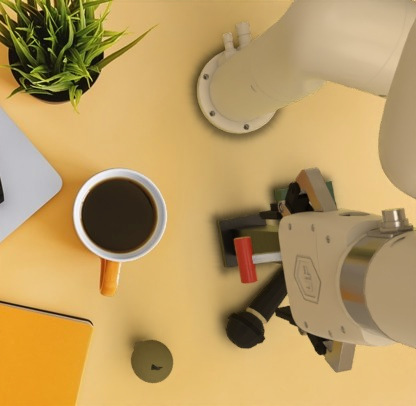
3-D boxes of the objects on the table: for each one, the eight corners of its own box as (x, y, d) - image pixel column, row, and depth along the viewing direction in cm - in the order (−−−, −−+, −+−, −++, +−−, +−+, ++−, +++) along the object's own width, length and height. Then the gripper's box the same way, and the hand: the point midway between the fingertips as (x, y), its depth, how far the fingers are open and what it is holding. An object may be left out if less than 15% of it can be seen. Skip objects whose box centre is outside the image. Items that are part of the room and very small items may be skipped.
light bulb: (127, 372, 80) (142, 394, 70) (117, 335, 80) (130, 352, 70) (163, 360, 81) (183, 381, 71) (153, 324, 81) (171, 339, 71)
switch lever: (234, 238, 63) (233, 239, 61) (338, 224, 59) (340, 225, 57) (241, 281, 63) (240, 284, 61) (346, 270, 59) (348, 273, 57)
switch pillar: (216, 220, 82) (304, 222, 56) (261, 212, 82) (368, 211, 57) (224, 267, 82) (316, 289, 56) (269, 258, 82) (379, 277, 57)
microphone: (294, 235, 86) (214, 332, 82) (307, 225, 80) (222, 328, 76) (324, 258, 84) (244, 358, 80) (339, 249, 79) (255, 355, 75)
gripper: (326, 167, 37) (230, 180, 54) (368, 421, 37) (259, 354, 54) (431, 149, 37) (303, 168, 54) (471, 400, 37) (331, 340, 55)
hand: (281, 261), depth 54 cm, fingers open, 9 cm apart
